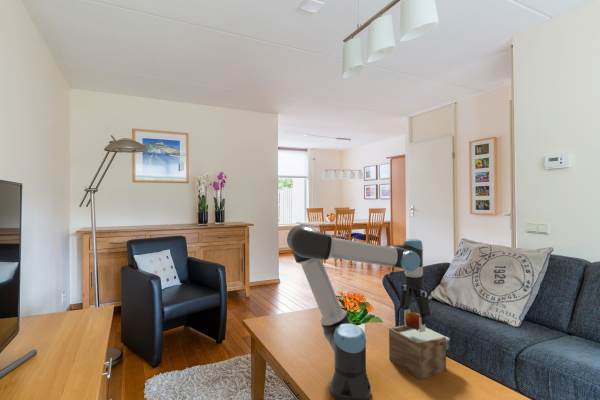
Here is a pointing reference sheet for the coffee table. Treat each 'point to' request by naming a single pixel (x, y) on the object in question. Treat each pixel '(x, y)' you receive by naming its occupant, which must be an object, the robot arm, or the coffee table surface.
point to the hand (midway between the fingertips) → (414, 327)
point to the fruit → (412, 320)
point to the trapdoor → (423, 335)
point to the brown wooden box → (417, 354)
